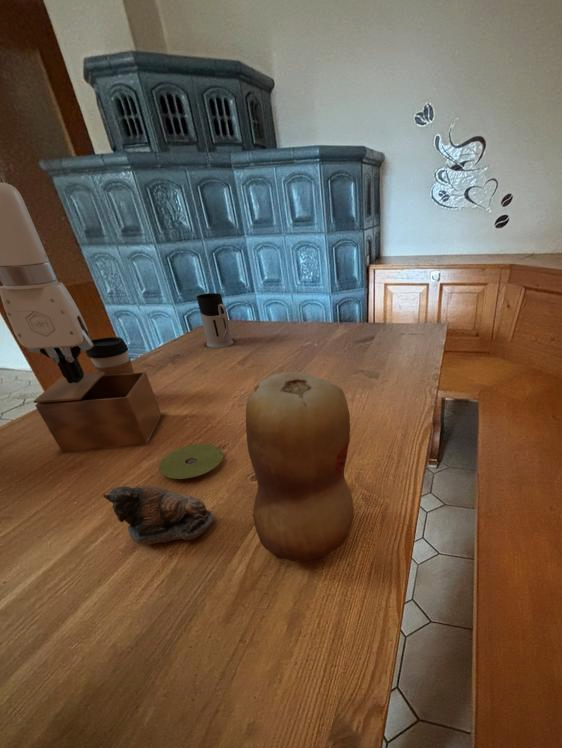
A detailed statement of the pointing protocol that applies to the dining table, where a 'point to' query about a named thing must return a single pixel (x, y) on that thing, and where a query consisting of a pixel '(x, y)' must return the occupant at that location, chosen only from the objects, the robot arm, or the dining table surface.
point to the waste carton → (105, 415)
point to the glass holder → (214, 320)
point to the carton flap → (69, 389)
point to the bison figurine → (159, 514)
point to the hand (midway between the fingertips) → (76, 380)
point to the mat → (190, 461)
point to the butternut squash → (299, 465)
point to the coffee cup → (110, 356)
